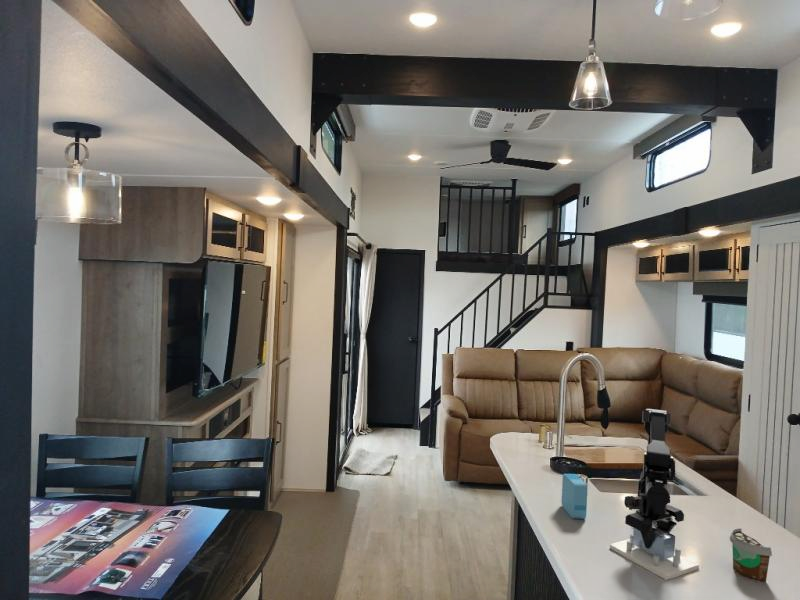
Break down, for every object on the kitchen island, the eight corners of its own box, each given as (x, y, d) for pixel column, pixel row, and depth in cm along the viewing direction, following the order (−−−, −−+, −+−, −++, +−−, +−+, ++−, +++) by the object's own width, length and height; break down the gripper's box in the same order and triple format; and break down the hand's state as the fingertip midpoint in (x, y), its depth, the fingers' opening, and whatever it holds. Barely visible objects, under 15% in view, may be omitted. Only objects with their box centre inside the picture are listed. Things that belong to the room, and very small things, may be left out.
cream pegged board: (641, 539, 170) (641, 527, 170) (698, 568, 153) (699, 556, 153) (609, 548, 163) (610, 536, 163) (666, 580, 147) (667, 566, 146)
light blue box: (586, 520, 182) (588, 485, 182) (573, 520, 182) (574, 484, 182) (573, 505, 194) (575, 472, 194) (561, 505, 194) (562, 472, 194)
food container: (718, 561, 158) (720, 527, 158) (737, 561, 158) (740, 527, 158) (748, 585, 146) (750, 548, 145) (770, 584, 146) (772, 548, 146)
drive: (644, 540, 164) (645, 520, 164) (674, 556, 155) (675, 535, 155) (632, 544, 162) (633, 523, 161) (662, 560, 153) (663, 538, 152)
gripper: (653, 479, 169) (650, 528, 170) (611, 488, 160) (608, 540, 161) (686, 492, 159) (683, 544, 160) (643, 502, 151) (640, 557, 151)
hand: (653, 546), depth 158 cm, fingers closed on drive, 5 cm apart
